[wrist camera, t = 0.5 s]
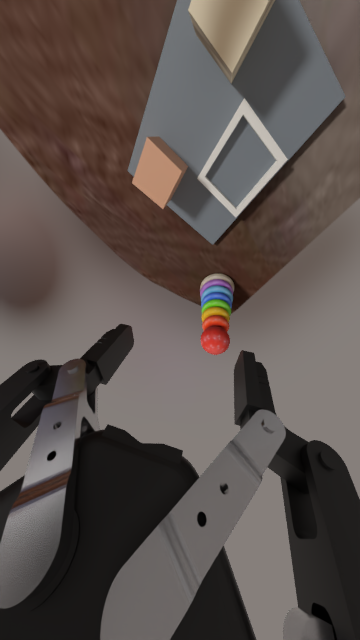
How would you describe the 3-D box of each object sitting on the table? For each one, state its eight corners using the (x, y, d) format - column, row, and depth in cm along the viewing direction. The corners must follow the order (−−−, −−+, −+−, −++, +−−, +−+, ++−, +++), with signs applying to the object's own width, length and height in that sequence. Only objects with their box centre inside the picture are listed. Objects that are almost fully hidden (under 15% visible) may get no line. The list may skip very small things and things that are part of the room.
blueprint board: (130, 169, 25) (124, 171, 24) (223, -142, 11) (222, -177, 10) (213, 242, 31) (212, 247, 30) (341, 98, 17) (350, 95, 16)
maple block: (196, 34, 16) (188, 10, 13) (236, -76, 12) (239, -150, 9) (231, 84, 17) (232, 73, 14) (275, -1, 14) (290, -41, 11)
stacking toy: (230, 299, 41) (231, 367, 29) (199, 296, 42) (189, 360, 31) (237, 273, 35) (243, 344, 23) (202, 270, 36) (189, 336, 25)
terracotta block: (144, 176, 25) (132, 182, 22) (158, 136, 21) (146, 136, 18) (170, 199, 26) (162, 209, 23) (188, 166, 23) (181, 171, 20)
